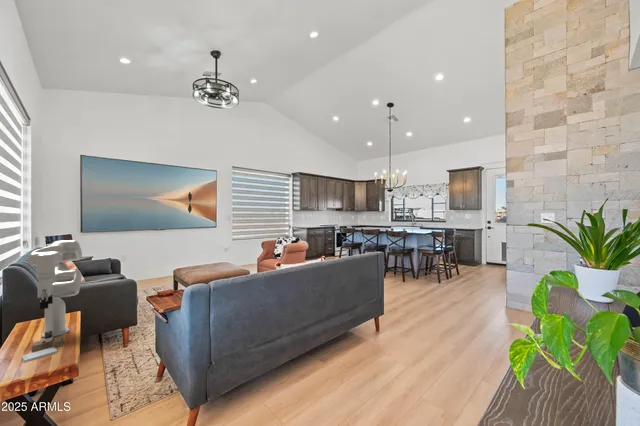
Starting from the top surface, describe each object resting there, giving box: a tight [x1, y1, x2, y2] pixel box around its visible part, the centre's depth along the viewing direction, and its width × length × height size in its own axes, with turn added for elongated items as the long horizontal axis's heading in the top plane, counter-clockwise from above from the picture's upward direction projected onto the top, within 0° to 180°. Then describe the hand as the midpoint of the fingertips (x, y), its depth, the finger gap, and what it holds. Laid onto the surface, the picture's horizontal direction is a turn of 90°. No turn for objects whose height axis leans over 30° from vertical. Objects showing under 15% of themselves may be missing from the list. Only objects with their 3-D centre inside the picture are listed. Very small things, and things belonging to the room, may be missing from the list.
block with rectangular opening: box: [31, 336, 65, 352], centre depth 160 cm, size 6×12×3 cm, turn 122°
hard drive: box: [21, 347, 58, 363], centre depth 151 cm, size 2×8×12 cm
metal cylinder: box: [44, 331, 53, 343], centre depth 161 cm, size 3×3×8 cm
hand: (46, 306), depth 160 cm, fingers open, 9 cm apart
